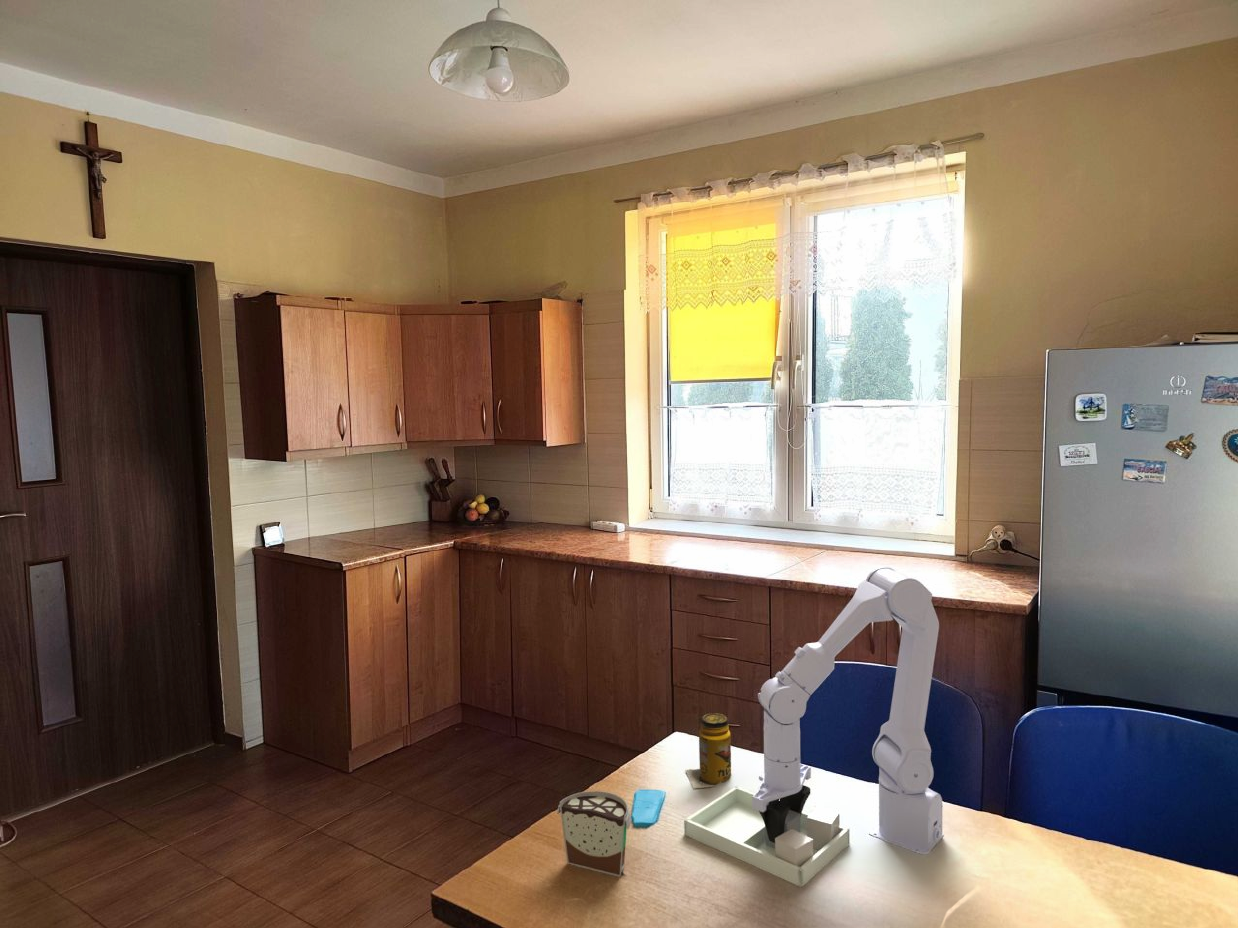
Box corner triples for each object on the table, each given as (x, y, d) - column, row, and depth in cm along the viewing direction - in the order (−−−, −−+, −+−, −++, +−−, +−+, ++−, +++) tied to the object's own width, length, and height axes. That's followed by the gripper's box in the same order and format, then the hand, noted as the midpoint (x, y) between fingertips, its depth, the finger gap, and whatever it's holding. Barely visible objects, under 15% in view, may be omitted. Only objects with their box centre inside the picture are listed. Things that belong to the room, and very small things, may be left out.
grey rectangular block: (800, 843, 128) (800, 813, 128) (787, 854, 126) (787, 823, 125) (779, 834, 131) (778, 805, 131) (765, 844, 128) (765, 815, 128)
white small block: (839, 842, 128) (839, 812, 128) (831, 854, 125) (831, 823, 125) (815, 835, 131) (815, 806, 130) (807, 847, 127) (806, 817, 127)
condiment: (737, 785, 149) (736, 723, 148) (693, 789, 148) (692, 727, 147) (727, 767, 157) (726, 708, 156) (685, 771, 156) (683, 712, 155)
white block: (813, 870, 121) (812, 839, 121) (796, 881, 119) (796, 849, 118) (792, 859, 124) (791, 828, 124) (775, 869, 122) (775, 837, 121)
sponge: (621, 821, 136) (654, 821, 135) (635, 788, 148) (666, 787, 147) (622, 830, 136) (656, 829, 135) (636, 796, 148) (667, 795, 147)
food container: (645, 857, 127) (643, 797, 126) (629, 879, 121) (627, 816, 120) (577, 841, 132) (575, 783, 131) (559, 861, 126) (556, 801, 125)
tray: (849, 846, 128) (849, 828, 128) (801, 889, 117) (801, 870, 117) (736, 802, 143) (736, 786, 143) (684, 837, 132) (684, 819, 132)
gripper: (784, 733, 135) (785, 809, 136) (735, 763, 125) (736, 845, 126) (821, 744, 130) (822, 823, 131) (774, 776, 120) (775, 862, 121)
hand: (783, 835), depth 128 cm, fingers closed on grey rectangular block, 4 cm apart
